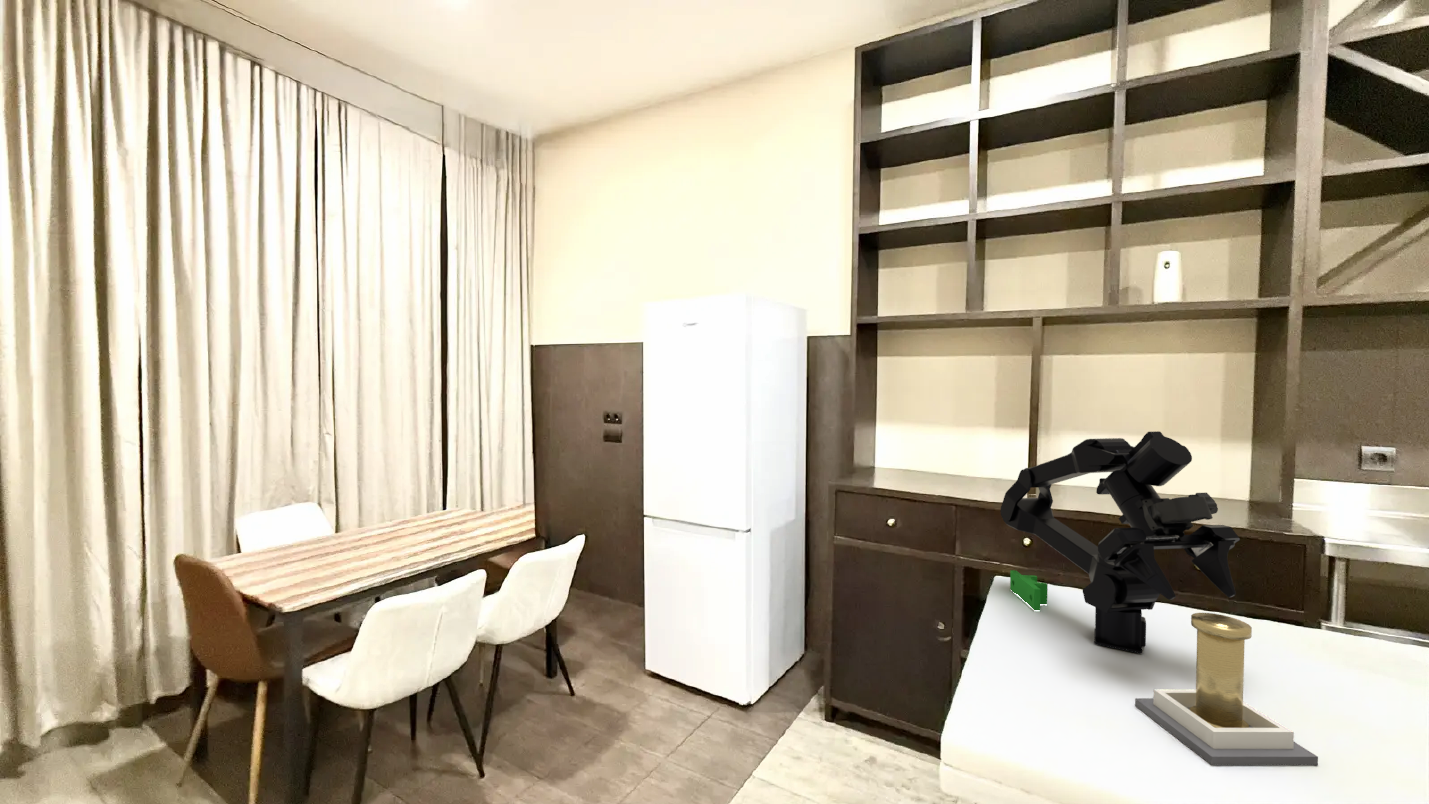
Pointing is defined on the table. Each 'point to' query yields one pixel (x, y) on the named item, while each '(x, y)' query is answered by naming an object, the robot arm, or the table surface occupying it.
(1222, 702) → the brass fitting
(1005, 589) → the table surface
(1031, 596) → the green notched block
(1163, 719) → the socket plate
